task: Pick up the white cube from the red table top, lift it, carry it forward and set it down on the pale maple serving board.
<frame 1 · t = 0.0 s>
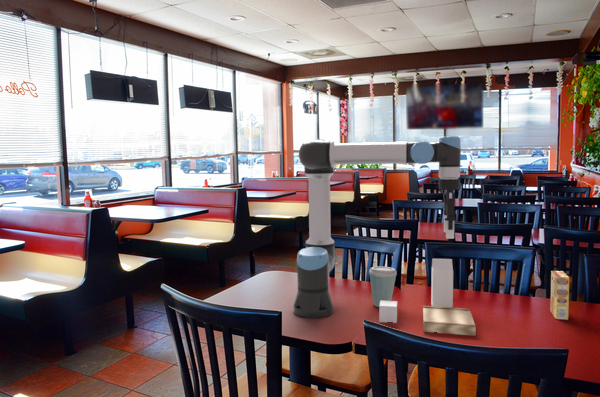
hand: (448, 235, 167), 28 cm above the table, tool pointing down, fingers open, 13 cm apart
disposable coffee cup: (382, 305, 175), on the table
board: (447, 324, 153), on the table
white cube: (388, 320, 159), on the table
milk carton: (441, 308, 170), on the table
candy box: (558, 316, 160), on the table
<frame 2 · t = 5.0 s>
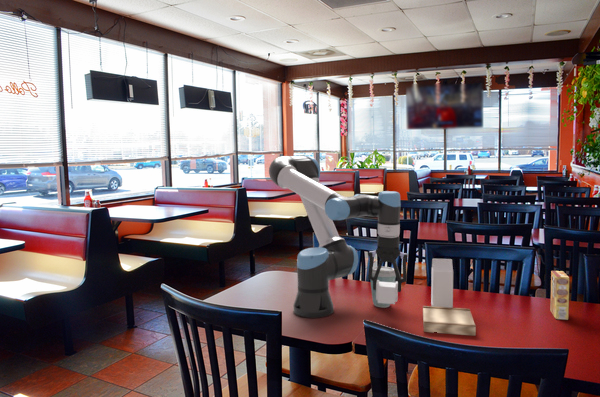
hand: (386, 299, 159), 7 cm above the table, tool pointing down, fingers closed on white cube, 6 cm apart
white cube: (386, 301, 159), point 6 cm above the table, touching gripper
everything else where it was.
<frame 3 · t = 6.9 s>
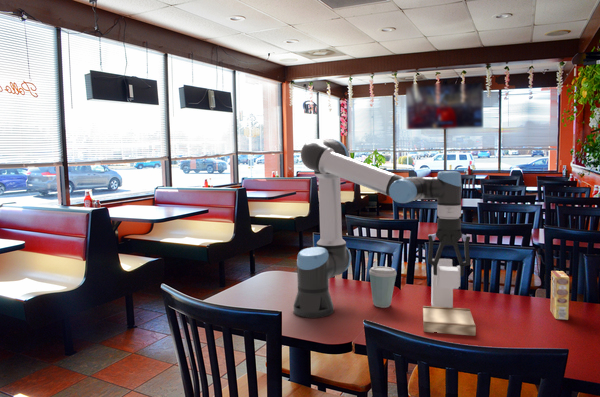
hand: (448, 284, 152), 14 cm above the table, tool pointing down, fingers closed on white cube, 6 cm apart
white cube: (448, 286, 152), point 13 cm above the table, touching gripper
everything else where it was.
when the fingers open (3 cm above the table, at t = 8.7 s): white cube stays where it is, resting on board.
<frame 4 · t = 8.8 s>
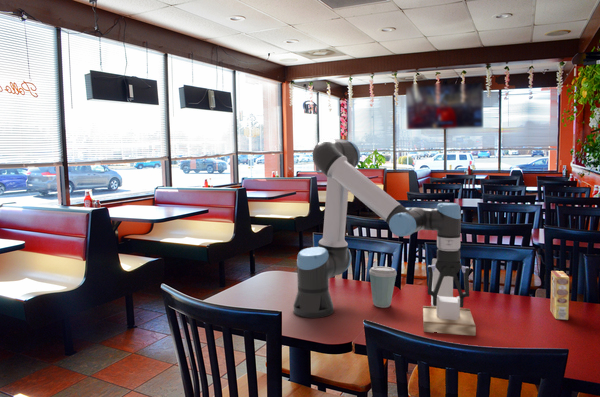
hand: (447, 315, 153), 3 cm above the table, tool pointing down, fingers open, 6 cm apart
white cube: (447, 317, 153), point 3 cm above the table, touching board
everything else where it was.
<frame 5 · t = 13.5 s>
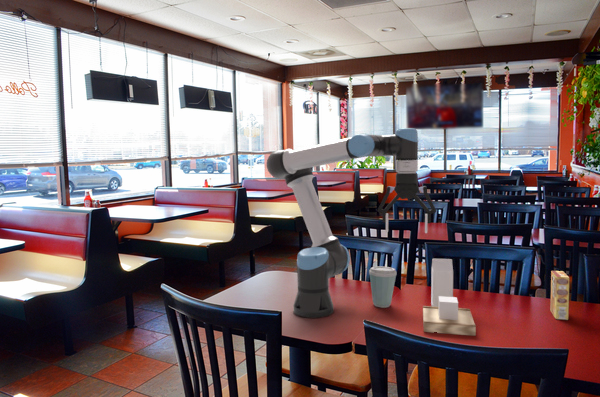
hand: (406, 232, 160), 31 cm above the table, tool pointing down, fingers open, 13 cm apart
nothing on the table moved.
at the end: white cube inside the target area on the board (0.2 cm from its centre), point 2.8 cm above the board's base; the gripper is holding nothing; white cube tilted 0° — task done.
